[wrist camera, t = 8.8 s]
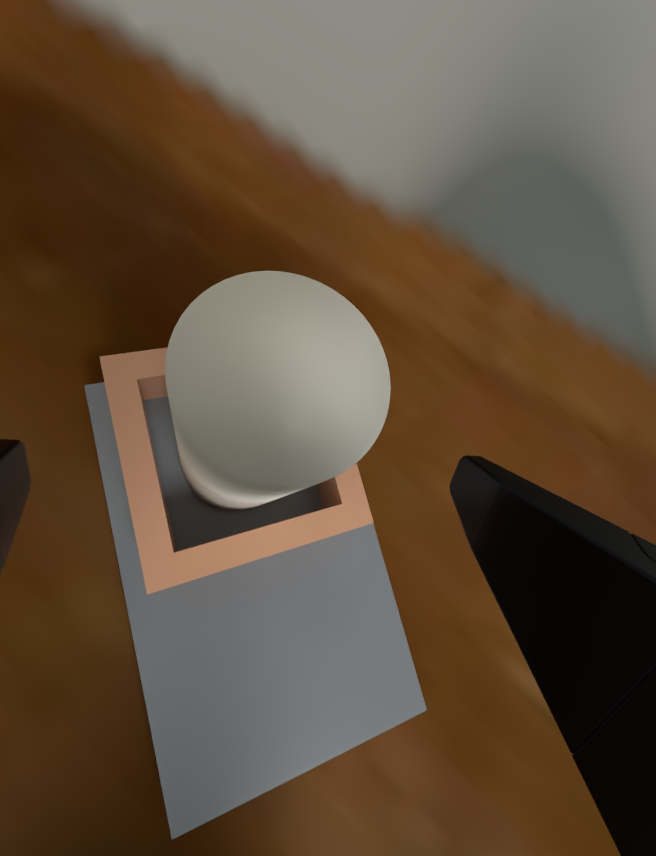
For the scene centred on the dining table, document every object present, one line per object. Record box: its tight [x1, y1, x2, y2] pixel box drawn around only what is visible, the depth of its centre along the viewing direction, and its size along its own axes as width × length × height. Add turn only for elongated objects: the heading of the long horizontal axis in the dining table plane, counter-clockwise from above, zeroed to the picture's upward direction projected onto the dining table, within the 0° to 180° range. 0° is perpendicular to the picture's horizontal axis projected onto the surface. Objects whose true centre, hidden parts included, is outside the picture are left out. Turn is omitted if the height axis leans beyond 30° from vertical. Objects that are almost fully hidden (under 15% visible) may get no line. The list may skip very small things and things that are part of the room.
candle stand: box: [84, 347, 427, 840], centre depth 17 cm, size 16×10×4 cm, turn 16°
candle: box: [165, 271, 390, 511], centre depth 13 cm, size 4×4×10 cm
